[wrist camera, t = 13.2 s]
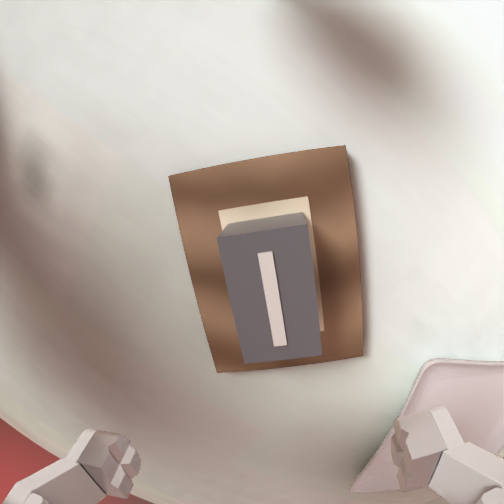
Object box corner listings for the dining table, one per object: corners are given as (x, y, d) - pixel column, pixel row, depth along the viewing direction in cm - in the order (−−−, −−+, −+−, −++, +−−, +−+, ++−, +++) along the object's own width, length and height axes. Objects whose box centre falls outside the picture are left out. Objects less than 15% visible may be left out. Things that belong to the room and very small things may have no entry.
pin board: (175, 174, 22) (153, 178, 18) (341, 146, 21) (354, 143, 17) (220, 362, 27) (210, 393, 23) (359, 345, 25) (370, 375, 21)
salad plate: (472, 462, 30) (479, 477, 27) (344, 475, 31) (346, 496, 28) (547, 342, 24) (561, 357, 20) (413, 338, 25) (426, 360, 22)
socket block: (228, 223, 21) (215, 238, 18) (302, 212, 21) (307, 224, 17) (250, 332, 24) (244, 365, 20) (316, 324, 23) (322, 356, 19)
